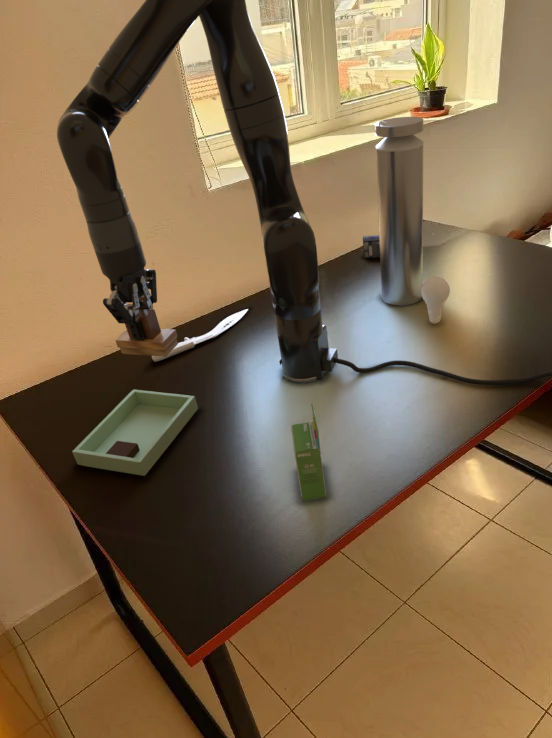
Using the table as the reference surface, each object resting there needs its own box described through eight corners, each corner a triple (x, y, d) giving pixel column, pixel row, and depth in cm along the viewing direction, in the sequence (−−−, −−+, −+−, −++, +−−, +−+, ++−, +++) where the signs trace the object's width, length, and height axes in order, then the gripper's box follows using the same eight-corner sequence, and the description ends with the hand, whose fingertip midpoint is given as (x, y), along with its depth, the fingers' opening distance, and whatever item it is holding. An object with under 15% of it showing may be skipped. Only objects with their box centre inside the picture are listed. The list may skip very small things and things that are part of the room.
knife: (247, 305, 147) (264, 314, 142) (248, 311, 148) (265, 320, 142) (139, 346, 133) (153, 357, 128) (141, 352, 134) (155, 363, 129)
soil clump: (140, 450, 103) (137, 443, 102) (126, 466, 99) (123, 459, 99) (119, 447, 104) (117, 440, 103) (105, 463, 101) (102, 456, 100)
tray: (198, 410, 112) (194, 395, 110) (145, 478, 97) (139, 462, 95) (138, 403, 117) (133, 389, 115) (78, 467, 102) (71, 451, 100)
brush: (179, 343, 106) (169, 307, 102) (166, 357, 103) (155, 320, 98) (134, 340, 110) (122, 305, 105) (120, 354, 106) (107, 318, 102)
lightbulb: (418, 328, 128) (418, 282, 122) (424, 316, 133) (424, 271, 127) (445, 330, 126) (447, 284, 120) (451, 317, 131) (452, 272, 124)
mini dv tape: (363, 258, 167) (362, 237, 163) (364, 256, 168) (363, 236, 164) (392, 256, 165) (391, 236, 161) (392, 254, 166) (392, 234, 163)
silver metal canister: (429, 291, 143) (431, 116, 121) (412, 308, 137) (411, 126, 114) (392, 285, 149) (387, 117, 126) (374, 302, 142) (366, 127, 119)
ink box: (298, 471, 94) (287, 405, 86) (321, 468, 94) (313, 401, 86) (301, 501, 88) (290, 433, 81) (327, 498, 88) (318, 429, 81)
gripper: (111, 259, 88) (143, 355, 98) (157, 227, 99) (181, 317, 108) (72, 259, 91) (107, 353, 100) (121, 228, 101) (148, 315, 111)
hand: (145, 333), depth 104 cm, fingers closed on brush, 3 cm apart
